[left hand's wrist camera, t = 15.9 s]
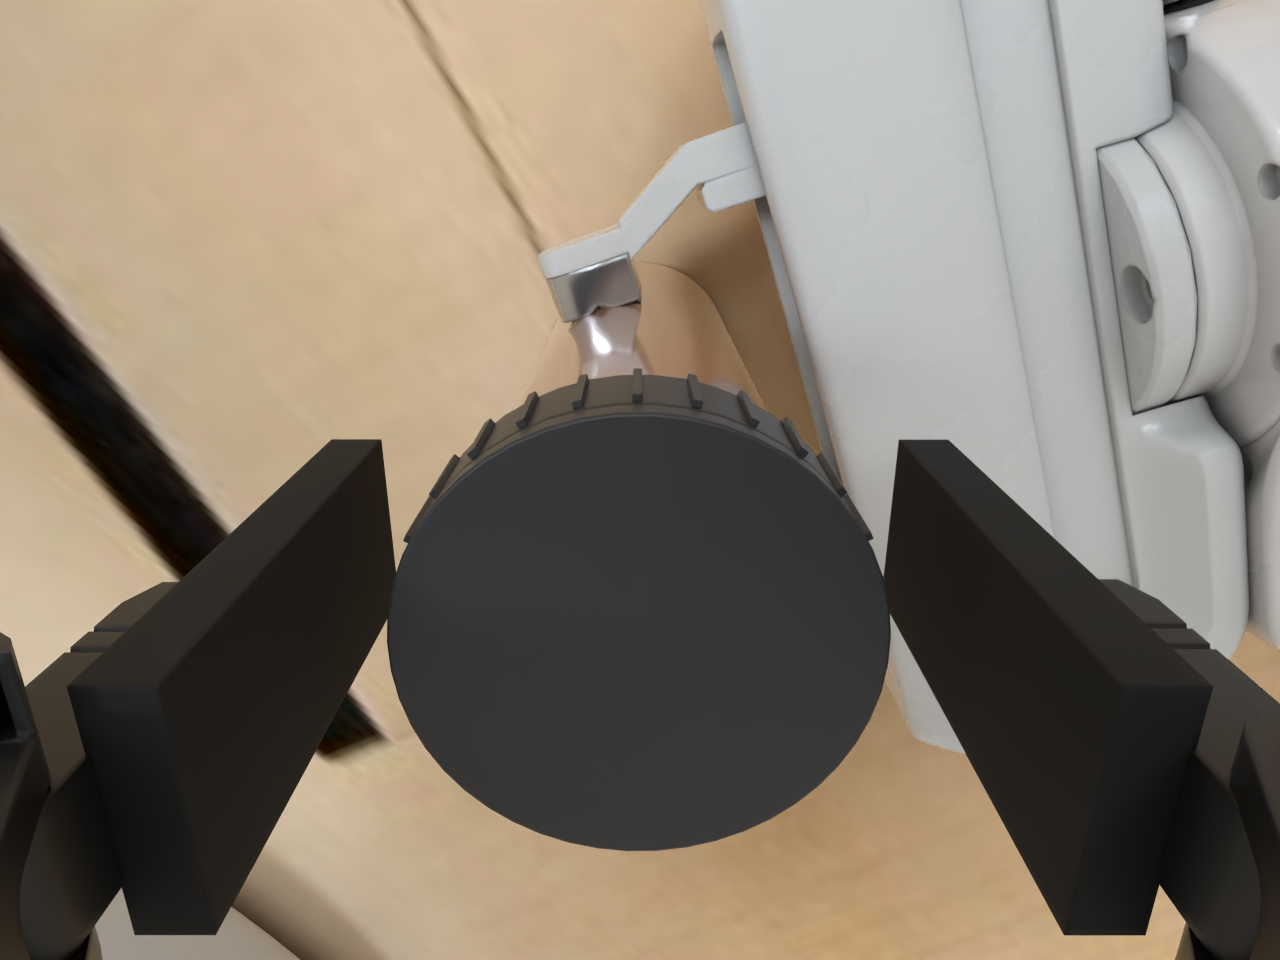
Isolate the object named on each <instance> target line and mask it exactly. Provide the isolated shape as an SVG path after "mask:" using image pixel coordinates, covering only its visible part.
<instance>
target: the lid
mask: <svg viewBox="0 0 1280 960" xmlns="http://www.w3.org/2000/svg"><path fill="white" fill-rule="evenodd" d="M845 494H846V495H845ZM429 495H430V496H429V498H428V499H427V501H426V502H425V504H424V506H423V507H422V509H421V511H420V512H419V514H418V515H417V517H416V519H415V520H414V522H413V524H412V525H411V527H410V529H409V530H408V532H407V533H406V536H405V538H404V542H407V543H408V545H407V547H406V549H405V551H404V553H403V555H402V557H401V560H400V563H399V566H398V569H397V572H396V575H395V578H394V580H393V582H392V586H391V596H390V602H389V608H388V621H387V645H388V652H389V659H390V667H391V672H392V676H393V679H394V683H395V686H396V690H397V693H398V697H399V700H400V702H401V704H402V706H403V709H404V711H405V713H406V715H407V717H408V720H409V722H410V724H411V726H412V727H413V729H414V731H415V732H416V734H417V735H418V737H419V739H420V740H421V742H422V743H423V745H424V747H425V748H426V750H427V751H428V752H429V753H430V754H431V756H432V757H433V758H434V759H435V760H436V762H437V763H438V764H439V765H440V766H441V768H442V769H443V770H444V771H445V772H446V773H447V774H448V775H449V776H450V777H451V778H452V779H453V780H454V781H455V782H457V783H458V784H459V785H460V786H461V787H462V788H463V789H464V790H465V791H466V792H468V793H469V794H471V795H472V796H473V797H475V798H476V799H477V800H479V801H480V802H481V803H483V804H484V805H485V806H487V807H488V808H490V809H492V810H493V811H495V812H497V813H499V814H500V815H502V816H504V817H506V818H507V819H509V820H511V821H513V822H515V823H517V824H519V825H522V826H524V827H526V828H529V829H531V830H533V831H535V832H538V833H540V834H543V835H546V836H550V837H553V838H556V839H559V840H563V841H566V842H569V843H574V844H579V845H584V846H589V847H594V848H601V849H612V850H623V851H658V850H667V849H675V848H684V847H690V846H694V845H699V844H703V843H708V842H712V841H716V840H719V839H722V838H725V837H728V836H731V835H734V834H737V833H740V832H743V831H746V830H748V829H750V828H752V827H754V826H756V825H759V824H761V823H763V822H765V821H767V820H769V819H771V818H773V817H775V816H776V815H778V814H779V813H781V812H783V811H784V810H786V809H788V808H789V807H791V806H793V805H794V804H796V803H797V802H798V801H800V800H801V799H802V798H803V797H805V796H806V795H807V794H809V793H810V792H811V791H813V790H814V789H815V788H816V787H818V786H819V785H820V784H821V783H822V782H823V781H824V780H825V779H826V778H827V777H828V776H829V775H830V774H831V773H832V772H833V771H834V770H835V769H836V768H837V767H838V766H839V764H840V763H841V762H842V761H843V759H844V758H845V757H846V756H847V754H848V753H849V752H850V750H851V749H852V748H853V747H854V745H855V744H856V742H857V741H858V739H859V737H860V736H861V734H862V732H863V730H864V729H865V727H866V725H867V724H868V722H869V720H870V718H871V716H872V713H873V711H874V708H875V706H876V704H877V701H878V699H879V696H880V694H881V691H882V687H883V683H884V679H885V675H886V671H887V667H888V661H889V651H890V641H891V625H890V607H889V602H888V597H887V592H886V588H887V586H886V580H885V579H884V577H883V575H882V572H881V570H880V567H879V564H878V561H877V559H876V556H875V553H874V551H873V548H872V547H871V545H870V543H869V541H870V540H872V539H873V536H872V533H871V531H870V530H869V528H868V526H867V525H866V523H865V521H864V520H863V518H862V516H861V515H860V513H859V512H858V510H857V508H856V507H855V505H854V503H853V502H852V500H851V498H850V497H849V495H848V494H847V491H846V489H845V487H844V486H843V484H842V483H841V481H840V479H839V478H838V476H837V474H836V473H835V471H834V469H833V468H832V466H831V465H830V463H829V461H828V460H827V458H826V457H825V455H824V454H823V453H821V454H819V455H818V456H816V455H815V454H814V452H813V451H812V450H811V449H810V448H809V447H808V446H807V445H806V444H805V443H804V442H803V441H802V439H801V437H800V436H799V434H798V432H797V430H796V429H795V427H794V425H793V423H792V422H791V421H790V420H789V419H788V418H786V417H785V418H784V419H783V420H782V422H781V421H779V420H778V419H777V418H775V417H774V416H773V415H771V414H770V413H769V412H767V411H766V410H764V409H762V408H760V407H758V406H757V405H755V404H753V403H752V402H751V400H750V398H749V396H748V394H747V393H746V392H744V391H741V390H740V391H739V393H738V395H735V394H732V393H730V392H727V391H725V390H722V389H720V388H717V387H715V386H712V385H708V384H704V383H700V382H698V379H697V375H694V374H688V377H687V379H684V378H676V377H668V376H659V375H642V369H641V368H634V369H633V375H617V376H610V377H603V378H596V379H588V375H587V374H584V375H580V376H579V377H578V381H577V383H575V384H571V385H567V386H564V387H560V388H558V389H555V390H553V391H551V392H548V393H546V394H544V395H541V396H538V394H537V392H536V391H534V392H532V393H530V394H528V396H527V398H526V401H525V403H524V404H523V405H522V406H520V407H518V408H516V409H515V410H513V411H511V412H510V413H508V414H506V415H505V416H504V417H502V418H501V419H500V420H499V421H497V422H496V423H494V422H493V421H492V419H489V420H488V421H487V422H485V423H484V425H483V427H482V429H481V430H480V432H479V434H478V436H477V437H476V439H475V441H474V443H473V444H472V445H471V446H470V447H469V448H468V449H467V450H466V451H465V452H464V453H463V455H462V456H461V457H460V458H459V457H458V456H456V455H453V457H452V458H451V459H450V461H449V463H448V464H447V466H446V467H445V469H444V471H443V472H442V474H441V476H440V477H439V479H438V480H437V482H436V484H435V485H434V487H433V488H432V490H431V492H430V493H429Z"/></svg>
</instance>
